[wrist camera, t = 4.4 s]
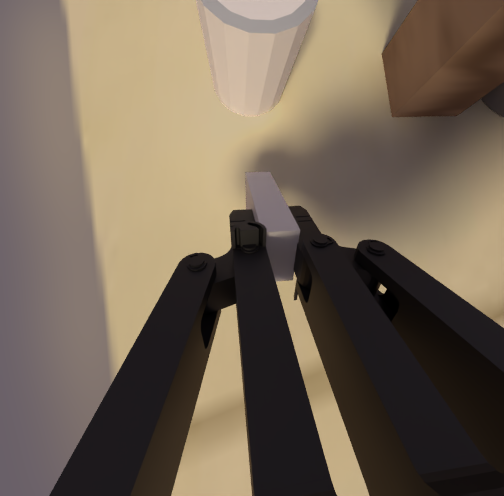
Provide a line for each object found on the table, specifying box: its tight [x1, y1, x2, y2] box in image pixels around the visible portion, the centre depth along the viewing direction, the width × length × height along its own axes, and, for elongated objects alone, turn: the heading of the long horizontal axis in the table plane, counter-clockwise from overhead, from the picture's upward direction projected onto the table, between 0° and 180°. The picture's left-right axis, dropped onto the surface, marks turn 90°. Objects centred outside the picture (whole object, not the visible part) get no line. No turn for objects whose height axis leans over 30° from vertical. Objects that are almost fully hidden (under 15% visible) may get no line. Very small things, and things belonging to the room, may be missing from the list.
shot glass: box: [196, 0, 318, 116], centre depth 15 cm, size 7×7×7 cm
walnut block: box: [382, 0, 504, 117], centre depth 15 cm, size 6×6×10 cm
